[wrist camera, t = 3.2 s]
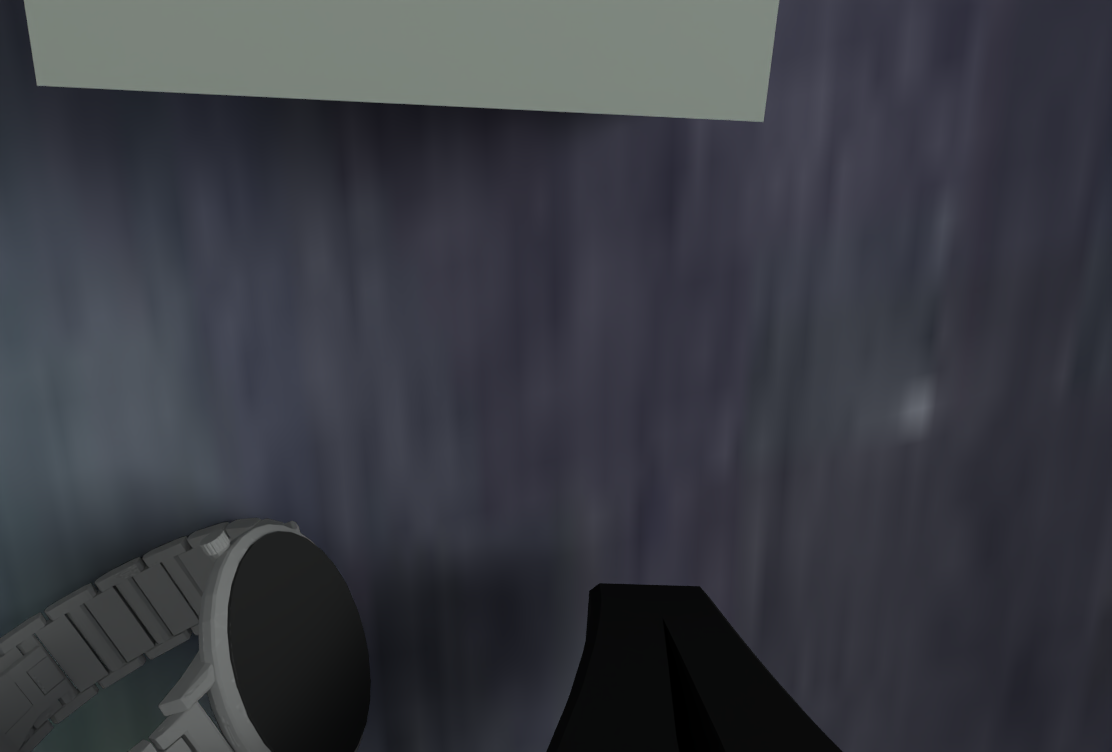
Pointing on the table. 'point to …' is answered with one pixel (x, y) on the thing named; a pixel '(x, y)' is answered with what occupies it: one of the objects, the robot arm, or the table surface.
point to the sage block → (422, 52)
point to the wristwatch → (204, 646)
